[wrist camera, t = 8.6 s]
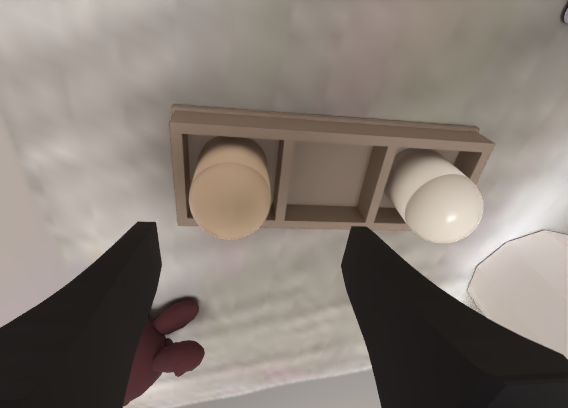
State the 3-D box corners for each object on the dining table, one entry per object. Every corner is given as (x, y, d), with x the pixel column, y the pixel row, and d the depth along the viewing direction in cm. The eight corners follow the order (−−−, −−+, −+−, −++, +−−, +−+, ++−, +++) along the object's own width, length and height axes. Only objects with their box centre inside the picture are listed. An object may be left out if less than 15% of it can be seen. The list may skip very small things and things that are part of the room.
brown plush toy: (61, 448, 27) (226, 381, 27) (-27, 441, 22) (179, 358, 21) (74, 363, 32) (215, 305, 31) (5, 340, 26) (174, 269, 26)
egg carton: (475, 126, 22) (500, 140, 20) (437, 214, 26) (454, 233, 24) (173, 104, 19) (164, 118, 17) (181, 206, 23) (174, 228, 21)
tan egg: (268, 134, 20) (276, 184, 15) (266, 195, 23) (272, 256, 17) (195, 132, 20) (177, 183, 14) (201, 194, 22) (187, 257, 17)
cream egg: (452, 147, 22) (516, 196, 17) (430, 202, 24) (479, 259, 19) (391, 143, 21) (438, 192, 16) (374, 200, 24) (410, 258, 19)
